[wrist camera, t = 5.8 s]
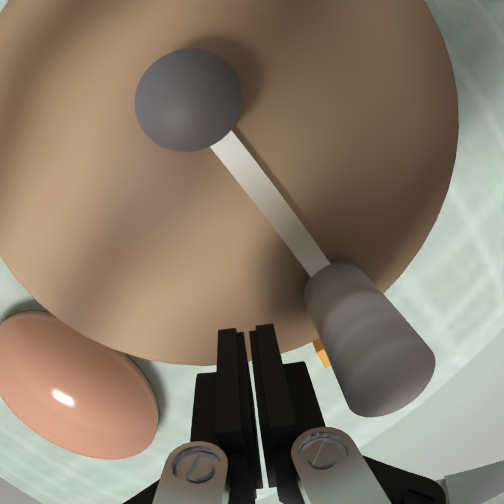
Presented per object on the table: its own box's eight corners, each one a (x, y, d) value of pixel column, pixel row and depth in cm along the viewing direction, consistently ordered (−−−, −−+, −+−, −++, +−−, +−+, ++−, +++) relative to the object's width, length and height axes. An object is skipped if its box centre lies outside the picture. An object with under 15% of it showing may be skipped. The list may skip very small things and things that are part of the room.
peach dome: (-32, 313, 14) (-40, 321, 13) (123, 303, 15) (117, 314, 14) (42, 440, 18) (38, 449, 18) (180, 451, 19) (179, 462, 18)
